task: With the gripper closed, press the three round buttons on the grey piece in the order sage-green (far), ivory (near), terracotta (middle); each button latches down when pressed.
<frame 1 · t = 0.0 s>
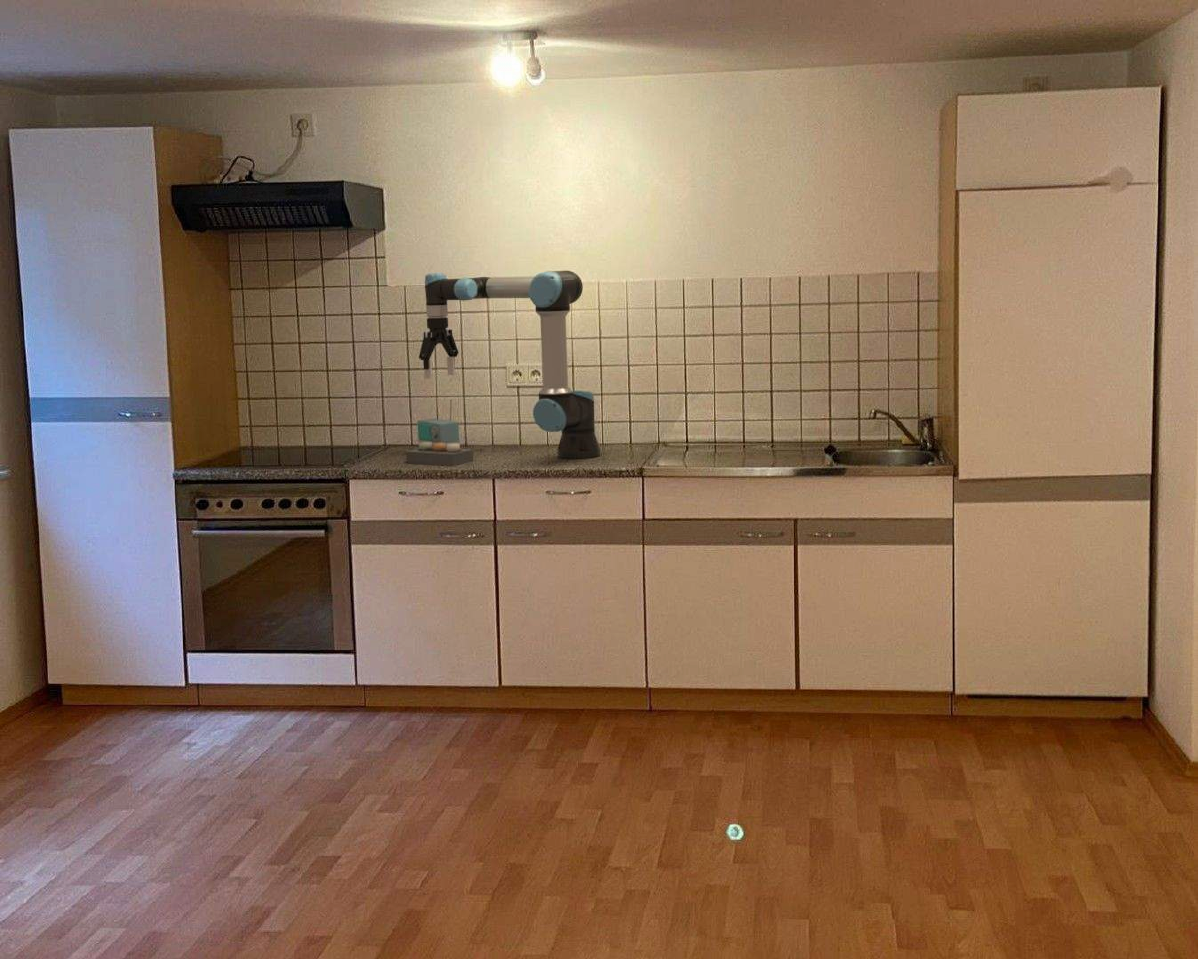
hand: (440, 376, 525), 28 cm above the counter, fingers open, 13 cm apart
grey piece: (440, 461, 511), on the counter
button ivory: (453, 447, 507), point 5 cm above the counter, slide at 0.0 cm
button terracotta: (439, 446, 510), point 5 cm above the counter, slide at 0.0 cm
radio: (438, 454, 532), on the counter
button sage: (425, 446, 514), point 5 cm above the counter, slide at 0.0 cm
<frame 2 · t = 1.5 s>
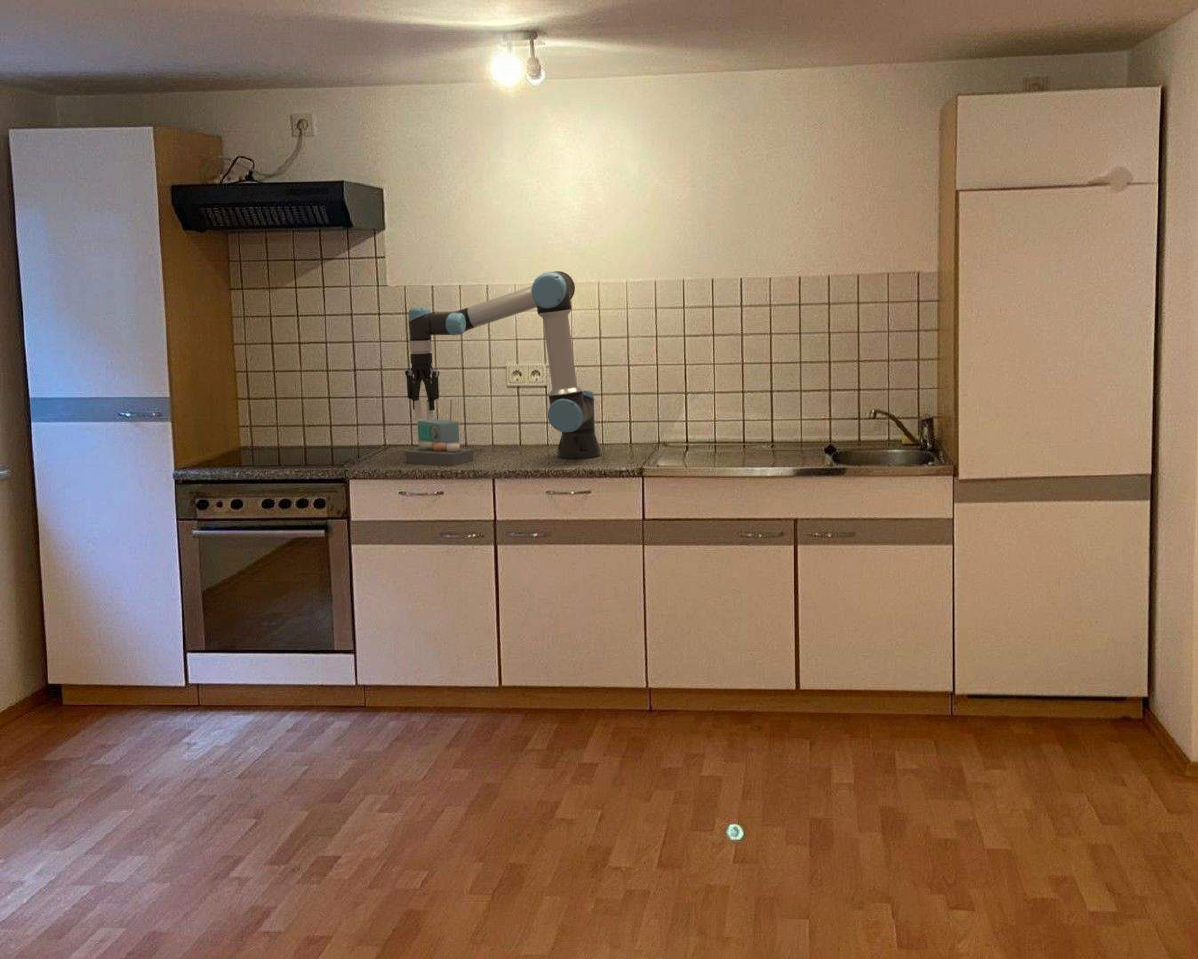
hand: (424, 419, 512), 15 cm above the counter, fingers open, 4 cm apart
nothing on the counter moved.
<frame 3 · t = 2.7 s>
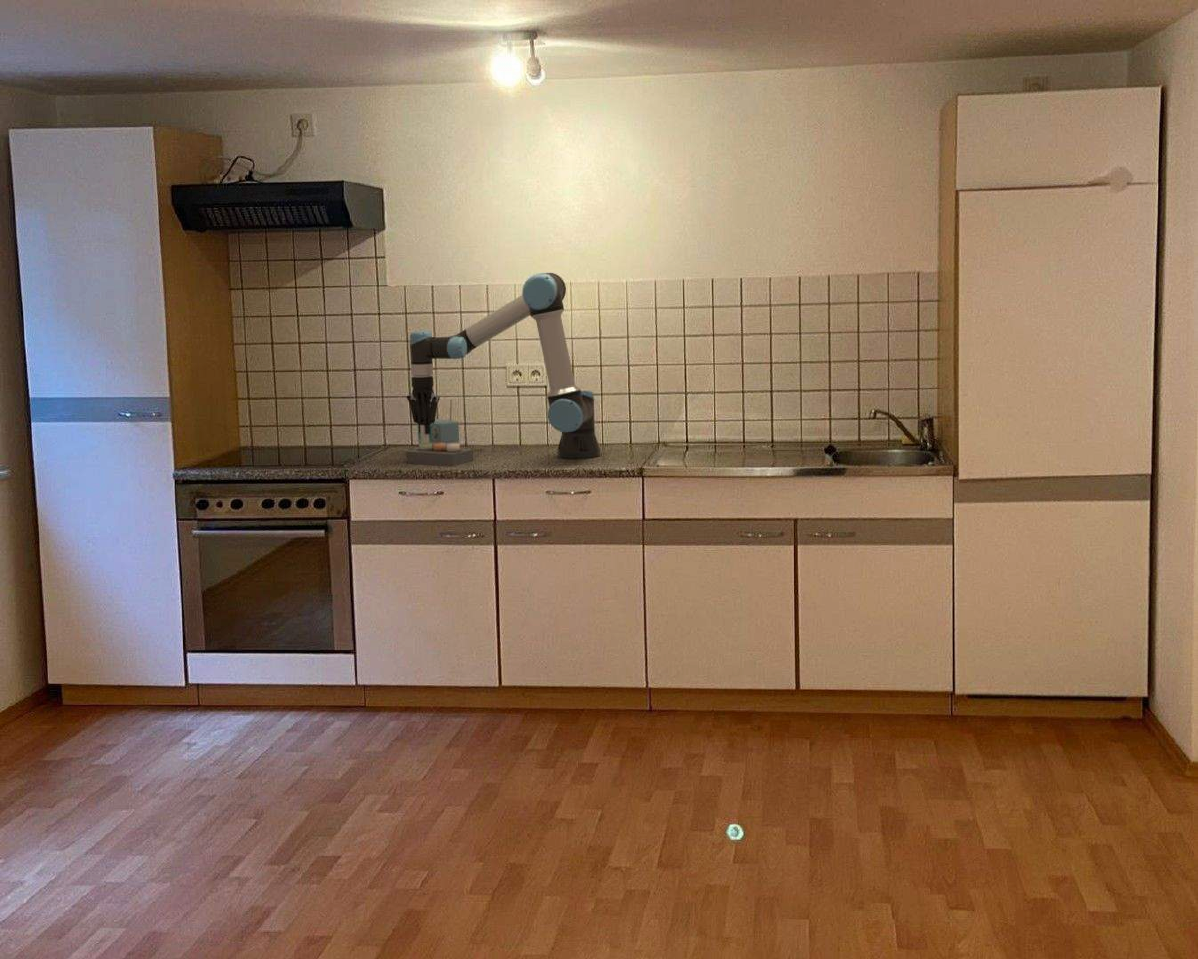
hand: (425, 443, 513), 6 cm above the counter, fingers closed
button sage: (425, 447, 514), point 5 cm above the counter, slide at 0.5 cm, touching gripper
everything else where it was.
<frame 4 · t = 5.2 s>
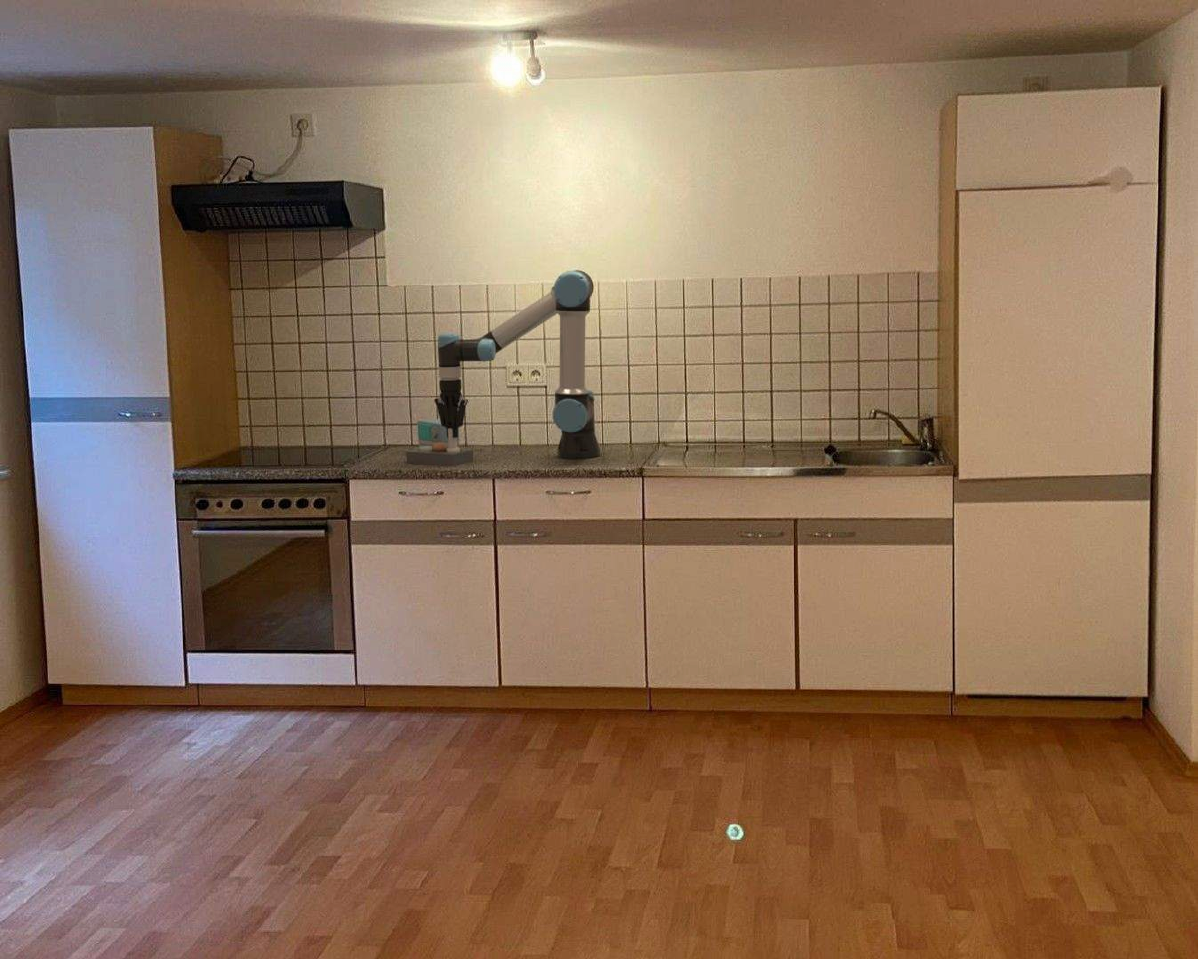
hand: (452, 446, 507), 6 cm above the counter, fingers closed
button ivory: (453, 451, 508), point 4 cm above the counter, slide at 1.3 cm, touching gripper
button sage: (425, 450, 514), point 4 cm above the counter, slide at 1.5 cm
everything else where it was.
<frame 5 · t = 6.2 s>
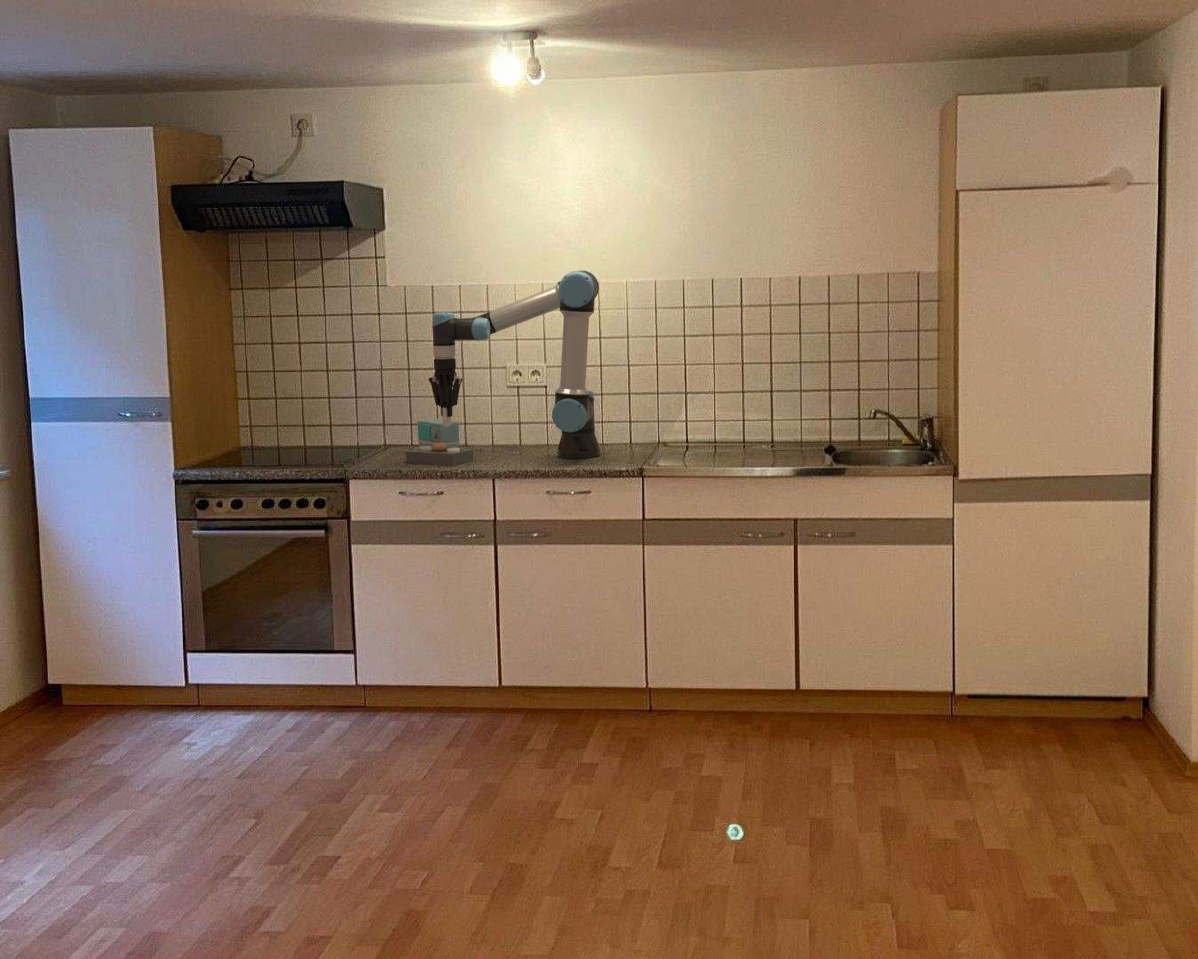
hand: (447, 426, 507), 13 cm above the counter, fingers closed
button ivory: (453, 452, 508), point 4 cm above the counter, slide at 1.5 cm
everything else where it was.
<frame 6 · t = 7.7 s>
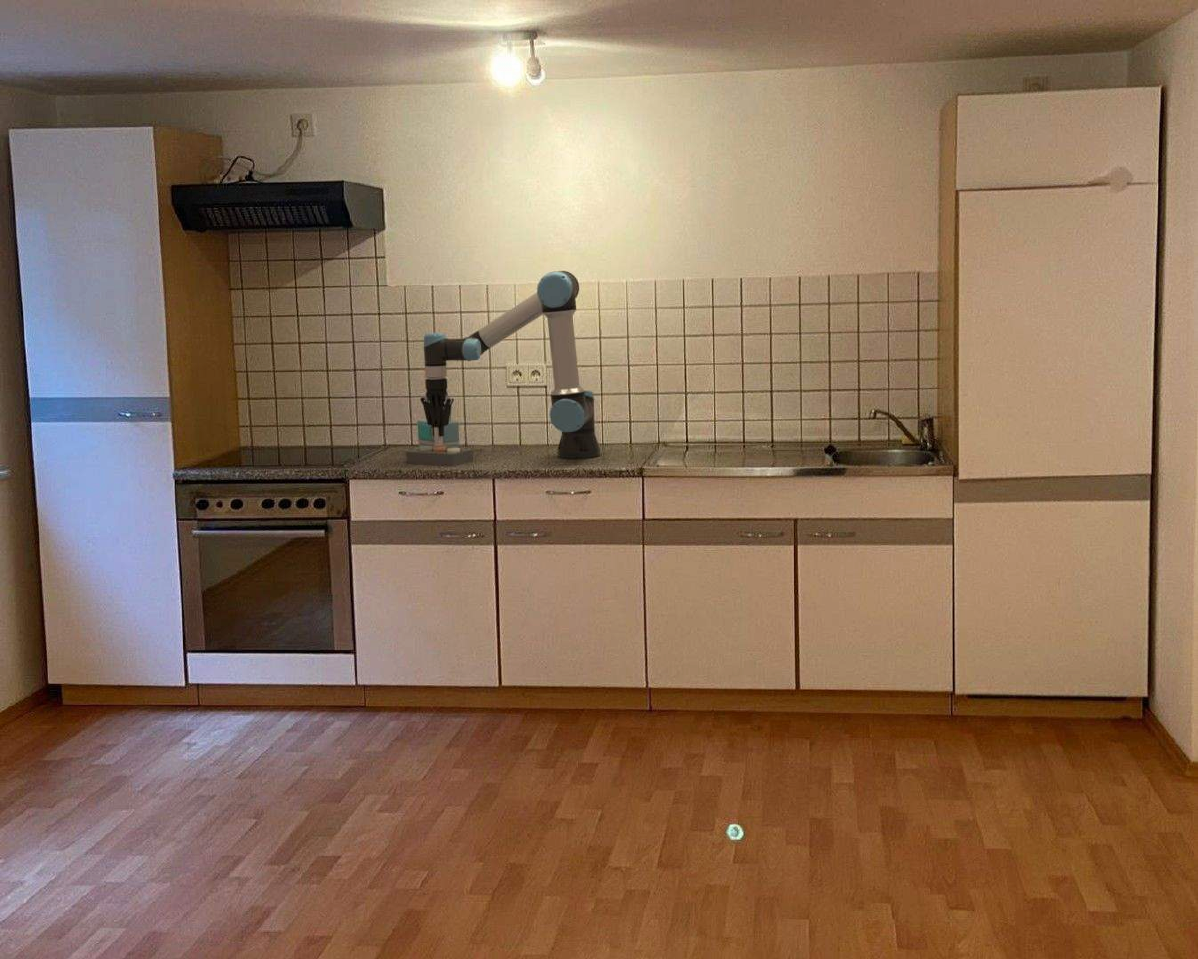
hand: (438, 445, 510), 6 cm above the counter, fingers closed
button terracotta: (439, 449, 511), point 4 cm above the counter, slide at 1.1 cm, touching gripper
everything else where it was.
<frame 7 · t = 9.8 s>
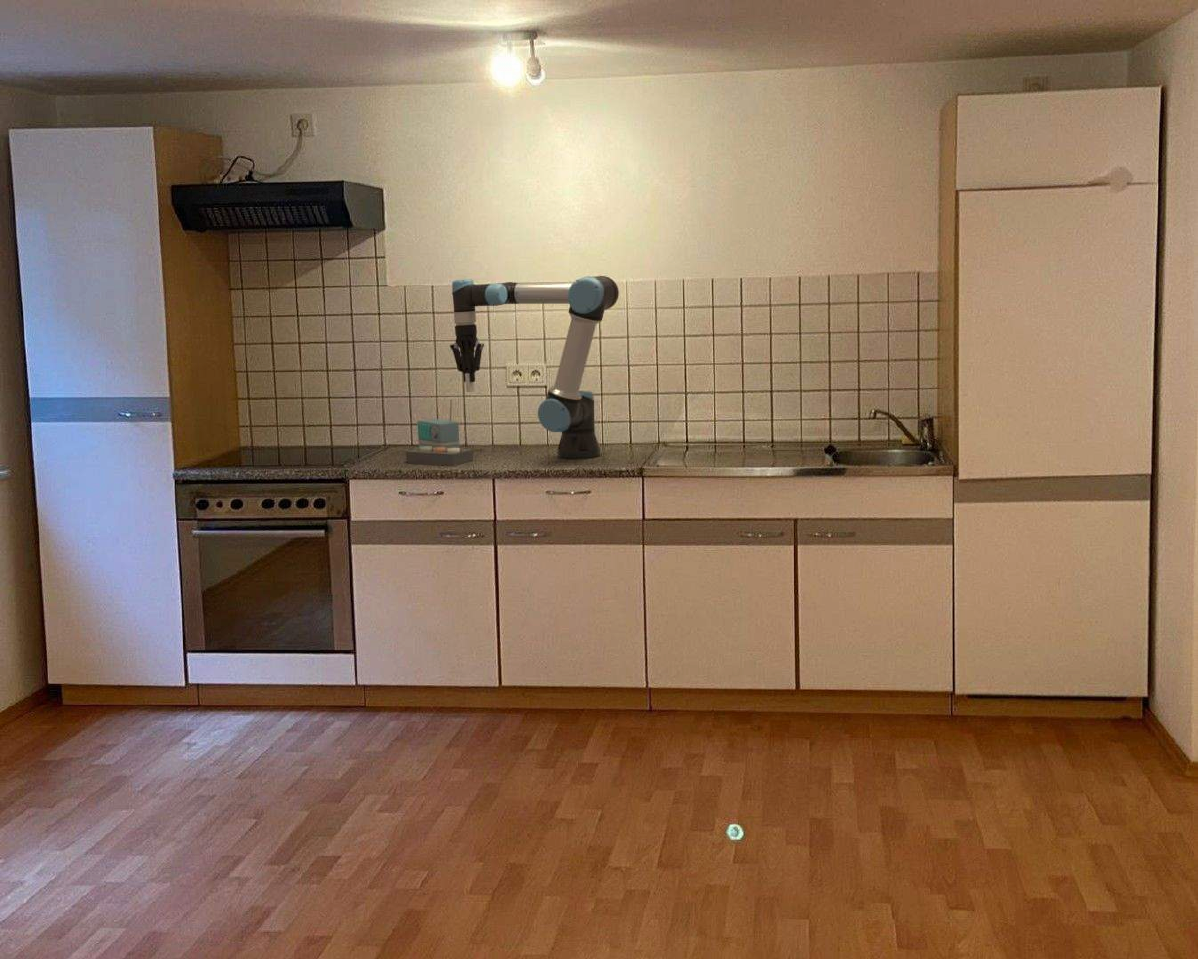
hand: (470, 391, 515), 24 cm above the counter, fingers closed
button terracotta: (439, 451, 511), point 4 cm above the counter, slide at 1.5 cm
everything else where it was.
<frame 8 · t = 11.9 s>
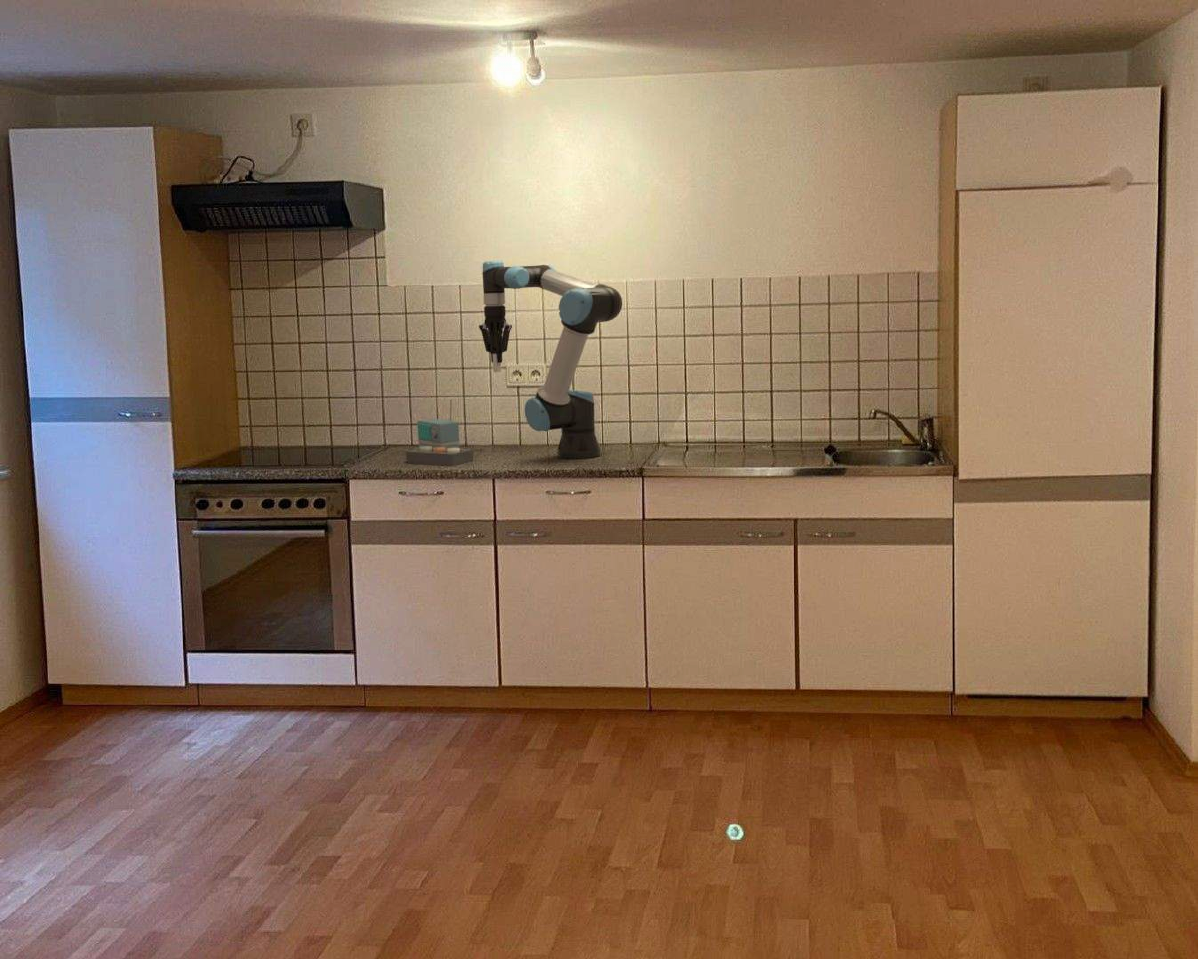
hand: (497, 371, 522), 29 cm above the counter, fingers closed
nothing on the counter moved.
at the end: button sage slide at 1.5 cm; button ivory slide at 1.5 cm; button terracotta slide at 1.5 cm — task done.
